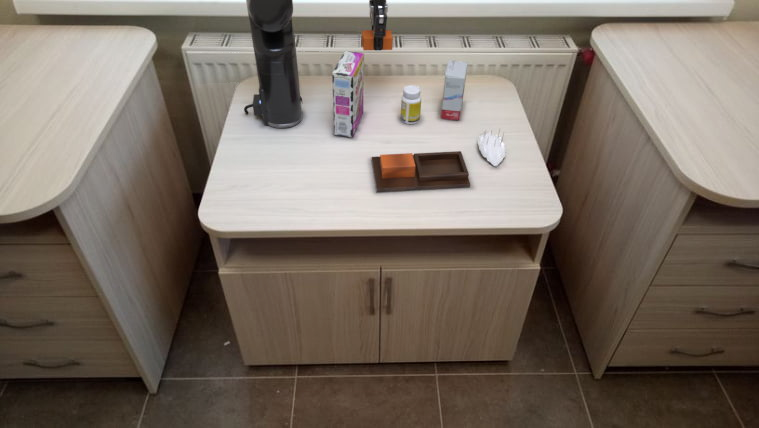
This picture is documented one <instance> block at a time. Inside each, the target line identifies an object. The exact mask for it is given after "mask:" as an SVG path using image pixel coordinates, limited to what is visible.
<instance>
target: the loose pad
mask: <svg viewBox="0 0 759 428" xmlns="http://www.w3.org/2000/svg"><path fill="white" fill-rule="evenodd" d="M373 32H374V30H372V29H367V30H365V29H364V30H363V29H362V30H361V44H362V50H363V51H375V50H374V48H373V47H374V34H373ZM393 43H394V36H393V34H392V30H391V29H386V35H385V37H383V49H382V50H381V51H392V50H393Z"/></svg>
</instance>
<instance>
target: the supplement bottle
mask: <svg viewBox="0 0 759 428" xmlns="http://www.w3.org/2000/svg"><path fill="white" fill-rule="evenodd" d="M400 102H401V103H400V121H401V122H402V123H404V124H406V125H415V124H418V123H419V122H420V120H421V111H422V110H421V109H422V108H421V107H422V96H421V88H420V87H419V86H418V85H415V84H409V85H405V86H404V87H403V90H402V95H401V101H400Z"/></svg>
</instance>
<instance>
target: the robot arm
mask: <svg viewBox="0 0 759 428" xmlns="http://www.w3.org/2000/svg"><path fill="white" fill-rule="evenodd" d="M245 2H246V8H247V15H248V22H249V28H250V37H251V42H252V47H253V53H254V59H255V66H256V74H257V80H258V93H255V94H253V98H252V103H251V104H247V105H245V106H244V107H243V111H244V113H245V114H246V115H248V114H249V111H248V109H250V108H252V111H253V115H254V116H262V123H263V126H269V127H271V128H272V127H273V128H276V129H287V128H291V127H293V126H296V125H298V124H300V123H301V121H302V120H303V118H304V117H303V108H302V104H303V98H302V96H301V88H300V79H299V78H300V76H299V67H298V55H297V45H296V38H295V33H294V25H293V14H294V1H293V0H245ZM388 7H389V6H388V3H387V0H368V8H369V18H370V25H371V30H374V32H373V34H374V47H373V48H374V50H373V51H383V50H382V49H383V37H385V35H386V30H387V24H388V23H387V21H388V14H387V13H388V11H389V10H388V9H389V8H388Z"/></svg>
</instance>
